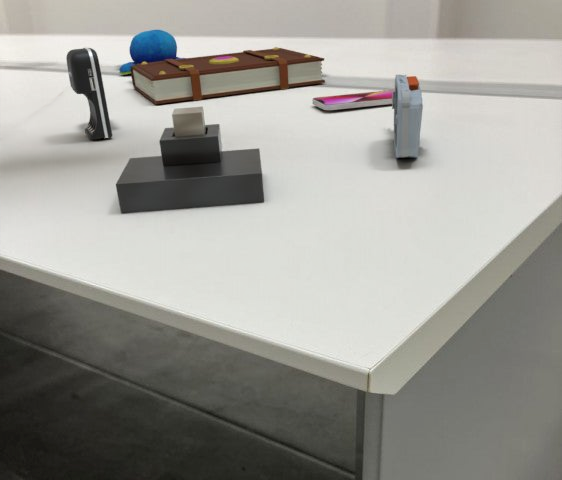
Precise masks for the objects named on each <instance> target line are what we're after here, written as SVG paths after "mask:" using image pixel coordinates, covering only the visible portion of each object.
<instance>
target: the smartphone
mask: <svg viewBox="0 0 562 480" xmlns="http://www.w3.org/2000/svg"><path fill="white" fill-rule="evenodd" d="M392 90H393V91H395V89H388V90H379V91H378V90H377V91H370V92H369V91H368V92H359V93H348V94H347V93H346V94H339V95H329V96H318V97H313V98H312V99H311V100H312V105H313V106H315V107H317V108H319V109H322V110H324V111H337V110H345V109H355V108H366V107H374V106H375V107H376V106H385V105H392V93H393V91H392Z"/></svg>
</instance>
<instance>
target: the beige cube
mask: <svg viewBox="0 0 562 480" xmlns="http://www.w3.org/2000/svg"><path fill="white" fill-rule="evenodd" d="M171 118H172V125H173V127H174V133H175V137H178V136H191V135H205V133H206V128H205V125H206V121H205V112H204V106H194V107H193V106H190V107H179V108H178V107H177V108H173V111H172V114H171Z"/></svg>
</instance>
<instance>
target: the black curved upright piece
mask: <svg viewBox="0 0 562 480" xmlns="http://www.w3.org/2000/svg"><path fill="white" fill-rule="evenodd" d="M65 59H66V67H67V72H68V78H69V83H70V87H71V89H72V91H74V93H75V94H76V95H83V96H85V98H86V99H87V102H88V103H87V104H88V108H89V120H88V124H87V126H86V127H85V128H84V132H85V135H86V136H87V137H88V139H90V140H93V139H95V140H102V139H101V138H104V139H105V138H108V139H110V138H112V137H113V132H112V126H111V121H110V116H109V110H108V109H109V108H108V104H107V99H106V97H107V96H106V92H105V87H104V81H103V76H102V71H101V70H102V69H101V64H100V60H99V56H98V53H97V51H96V50H95V49H94V48H91V47H87V46H86V47H82V48H76V49H75V48H74V49H71V50H69V51H68V52H67V54H66V58H65ZM109 137H110V138H109Z"/></svg>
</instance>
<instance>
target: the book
mask: <svg viewBox="0 0 562 480" xmlns="http://www.w3.org/2000/svg"><path fill="white" fill-rule="evenodd" d="M184 58H185V59H176V60H174V59H165V60H164V61H158V62H149V63H147V62H142V63H140V64H135V65H133V66H130V70H131V73H130V75H131V81H132V87H133V89H134V90H136V91H137V92H139V93H140V95H143V96H144V97H145V98H146V99H148V100H149V101H151V102H152V103H153V104H155V105H159V104H169V103H176V102H183V101H190V100H191V101H194V102H195V101H202V100H203V99H208V98H215V97H222V96H231V95H239V94H247V93H254V92H261V91H262V92H263V91H268V90H269V91H271V90H277V89H278V90H288V89H290V88H293V87H301V86H309V85H316V84H324V83H326V81H325V79H323V75H322V74H323V71H322V69H323V67H322V66H323V63H322V62H324V61H325V58H324V57H320V56H316V55H313V54H308V53H303V52H300V51H295V50H291V49H287V48H283V47H278V46H275V47H273V48H267V49H259V50H252V49H246V50H243V51H240V52H231V53H222V54H212V55H206V56H203V55H202V56H195V57H184Z"/></svg>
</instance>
